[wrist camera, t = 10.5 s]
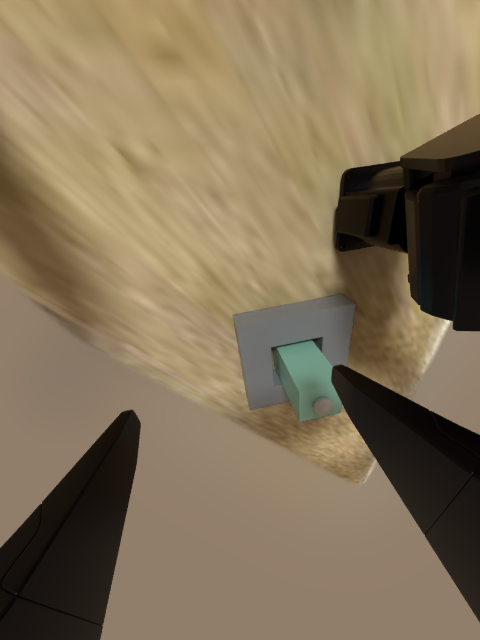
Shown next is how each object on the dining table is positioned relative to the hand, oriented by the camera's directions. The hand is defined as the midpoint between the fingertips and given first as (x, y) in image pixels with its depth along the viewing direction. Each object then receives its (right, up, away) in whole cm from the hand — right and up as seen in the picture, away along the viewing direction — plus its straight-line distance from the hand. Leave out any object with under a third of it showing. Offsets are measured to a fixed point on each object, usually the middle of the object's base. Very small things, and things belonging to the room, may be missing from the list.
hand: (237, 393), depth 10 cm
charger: (+6, 0, +16) cm, 17 cm away
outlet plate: (+6, 0, +16) cm, 17 cm away
